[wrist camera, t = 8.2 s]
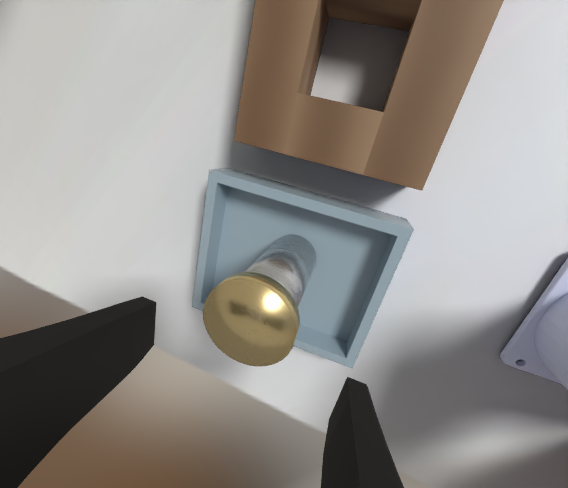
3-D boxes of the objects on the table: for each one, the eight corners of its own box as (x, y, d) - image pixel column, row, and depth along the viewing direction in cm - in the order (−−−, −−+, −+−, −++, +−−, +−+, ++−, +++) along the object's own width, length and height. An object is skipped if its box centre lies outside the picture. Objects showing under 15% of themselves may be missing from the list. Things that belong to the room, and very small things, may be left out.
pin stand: (500, -35, 12) (543, -92, 9) (410, 184, 16) (422, 190, 13) (290, -62, 14) (273, -117, 11) (253, 143, 17) (233, 140, 15)
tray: (406, 218, 16) (413, 229, 14) (353, 344, 20) (352, 368, 18) (228, 168, 18) (209, 169, 16) (209, 290, 22) (192, 306, 20)
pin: (330, 239, 17) (307, 301, 10) (313, 291, 19) (282, 380, 11) (272, 220, 18) (209, 266, 10) (260, 272, 19) (198, 344, 12)
